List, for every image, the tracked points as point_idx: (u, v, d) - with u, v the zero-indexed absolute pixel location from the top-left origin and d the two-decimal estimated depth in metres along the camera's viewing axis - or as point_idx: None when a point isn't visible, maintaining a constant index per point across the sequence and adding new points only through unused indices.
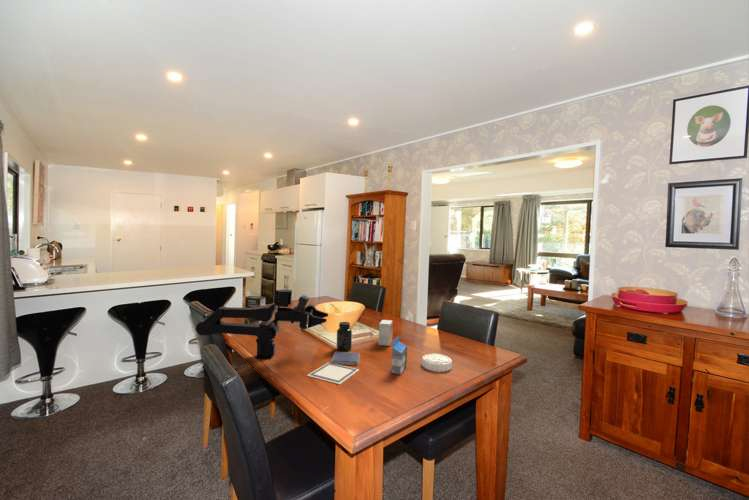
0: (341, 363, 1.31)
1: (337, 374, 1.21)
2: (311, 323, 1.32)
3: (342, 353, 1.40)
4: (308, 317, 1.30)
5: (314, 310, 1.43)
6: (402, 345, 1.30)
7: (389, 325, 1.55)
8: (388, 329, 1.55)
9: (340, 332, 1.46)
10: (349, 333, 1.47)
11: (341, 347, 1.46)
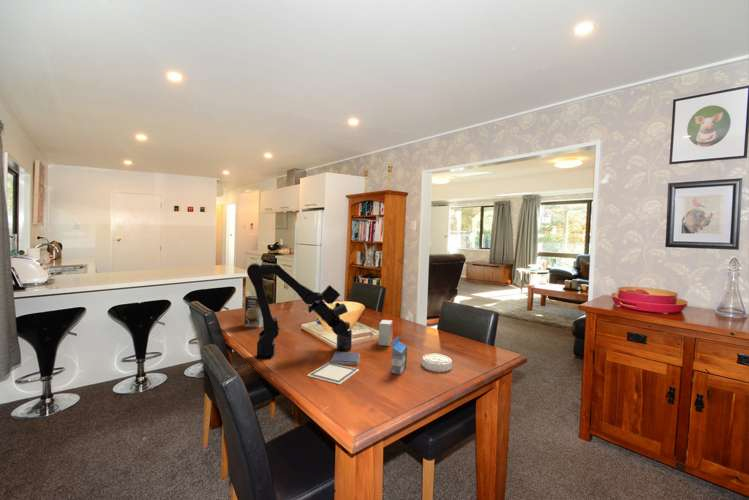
0: (341, 363, 1.31)
1: (337, 374, 1.21)
2: (339, 331, 1.43)
3: (342, 353, 1.40)
4: None
5: None
6: (402, 345, 1.30)
7: (389, 325, 1.55)
8: (388, 329, 1.55)
9: None
10: (349, 333, 1.47)
11: (341, 347, 1.46)
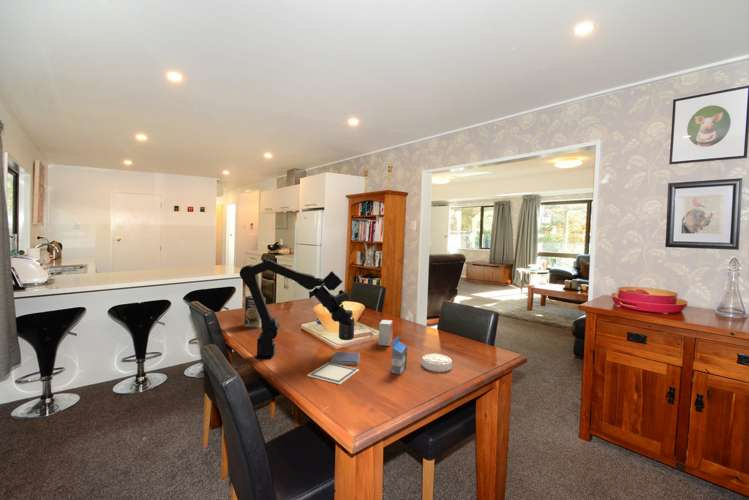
0: (341, 363, 1.31)
1: (337, 374, 1.21)
2: (339, 319, 1.38)
3: (342, 353, 1.40)
4: None
5: None
6: (402, 345, 1.30)
7: (389, 325, 1.55)
8: (388, 329, 1.55)
9: None
10: (351, 322, 1.41)
11: (342, 335, 1.41)
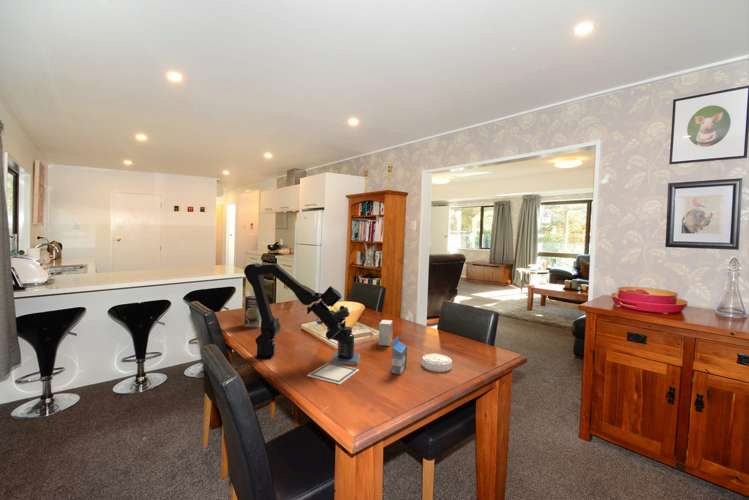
0: (341, 363, 1.31)
1: (337, 374, 1.21)
2: (336, 337, 1.31)
3: None
4: (338, 331, 1.29)
5: (343, 325, 1.40)
6: (402, 345, 1.30)
7: (389, 325, 1.55)
8: (388, 329, 1.55)
9: None
10: (349, 340, 1.33)
11: (340, 354, 1.34)
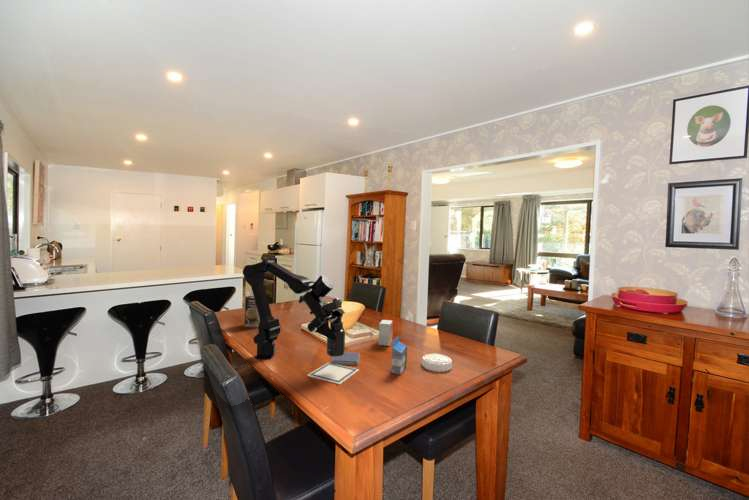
0: (341, 363, 1.31)
1: (337, 374, 1.21)
2: (321, 330, 1.20)
3: None
4: (321, 324, 1.18)
5: (338, 319, 1.28)
6: (402, 345, 1.30)
7: (389, 325, 1.55)
8: (388, 329, 1.55)
9: None
10: (336, 335, 1.20)
11: (327, 350, 1.22)
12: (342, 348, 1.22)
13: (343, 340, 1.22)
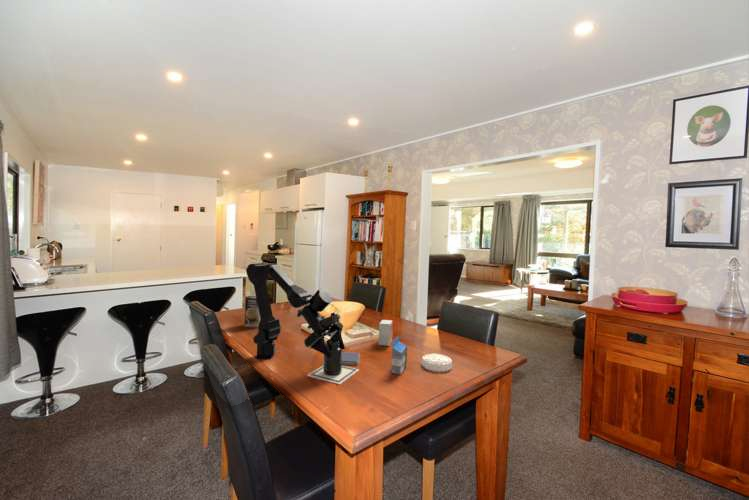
0: None
1: None
2: (316, 346, 1.18)
3: (342, 353, 1.40)
4: (316, 340, 1.16)
5: (337, 333, 1.27)
6: (402, 345, 1.30)
7: (389, 325, 1.55)
8: (388, 329, 1.55)
9: None
10: (332, 354, 1.19)
11: (323, 368, 1.21)
12: (339, 367, 1.20)
13: (340, 359, 1.21)
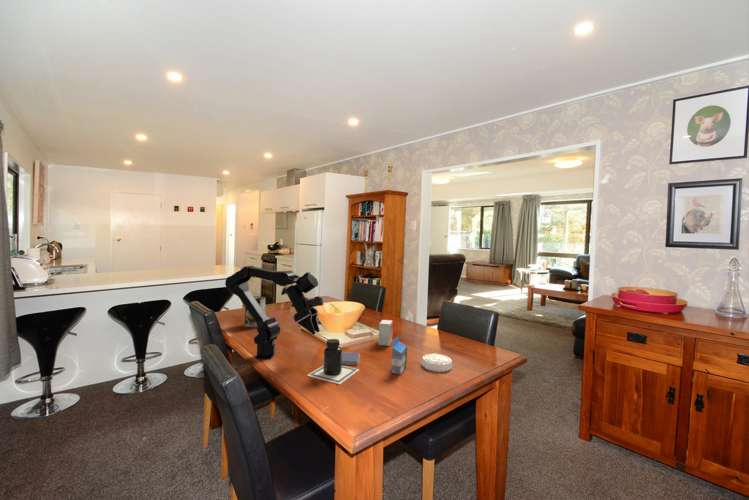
0: None
1: None
2: (303, 322, 1.24)
3: (342, 353, 1.40)
4: (307, 316, 1.23)
5: (314, 317, 1.36)
6: (402, 345, 1.30)
7: (389, 325, 1.55)
8: (388, 329, 1.55)
9: (324, 350, 1.21)
10: (332, 354, 1.19)
11: (324, 368, 1.21)
12: (339, 367, 1.20)
13: (340, 359, 1.21)
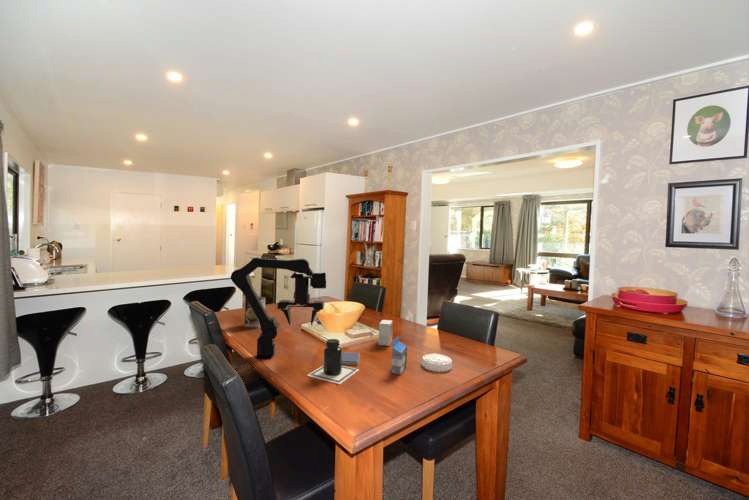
0: None
1: None
2: None
3: (342, 353, 1.40)
4: None
5: (289, 309, 1.40)
6: (402, 345, 1.30)
7: (389, 325, 1.55)
8: (388, 329, 1.55)
9: (324, 350, 1.21)
10: (332, 354, 1.19)
11: (323, 368, 1.21)
12: (339, 367, 1.20)
13: (340, 359, 1.21)
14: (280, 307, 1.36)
